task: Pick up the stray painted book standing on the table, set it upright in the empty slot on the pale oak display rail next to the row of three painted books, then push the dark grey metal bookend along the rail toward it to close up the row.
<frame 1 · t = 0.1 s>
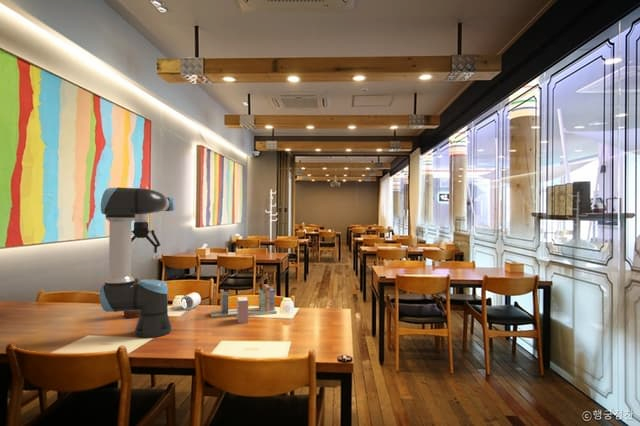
hand: (140, 259, 212), 28 cm above the table, fingers open, 13 cm apart
mug: (187, 308, 215), on the table
rail: (243, 313, 204), on the table
bookend: (224, 302, 201), point 6 cm above the table, slide at 0.0 cm
music box: (135, 316, 198), on the table
book: (242, 320, 189), on the table
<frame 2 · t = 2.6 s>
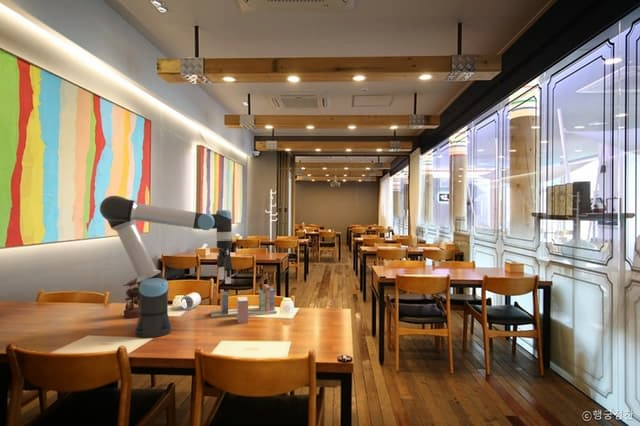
hand: (224, 281, 193), 19 cm above the table, fingers open, 13 cm apart
nothing on the table moved.
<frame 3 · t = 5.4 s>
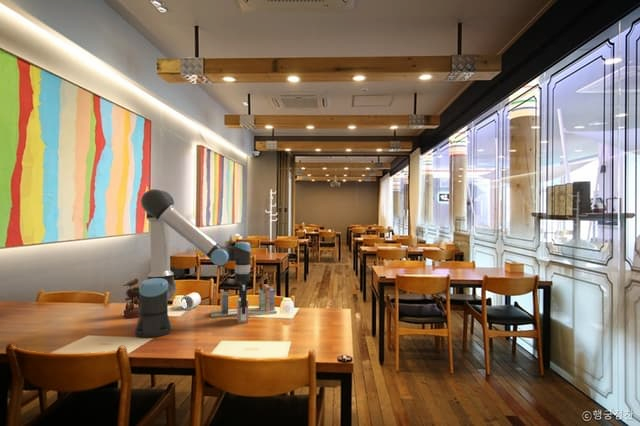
hand: (242, 317, 189), 2 cm above the table, fingers closed on book, 9 cm apart
book: (242, 320, 189), on the table, touching gripper
everything else where it was.
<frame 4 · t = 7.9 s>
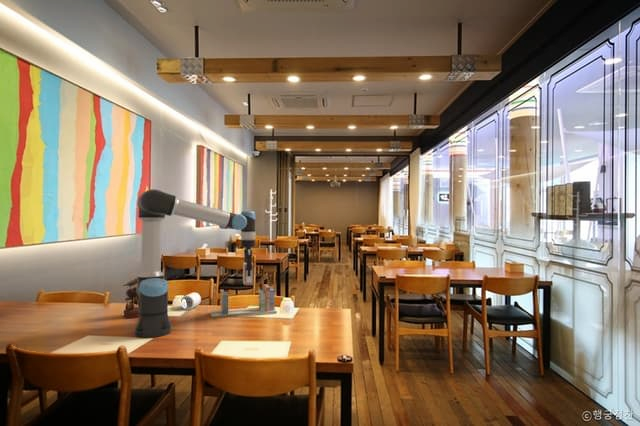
hand: (247, 280, 204), 17 cm above the table, fingers closed on book, 9 cm apart
book: (248, 283, 204), point 16 cm above the table, touching gripper
everything else where it was.
when the fingers open (4 cm above the table, at t = 10.4 s): book drops 1 cm, resting on rail.
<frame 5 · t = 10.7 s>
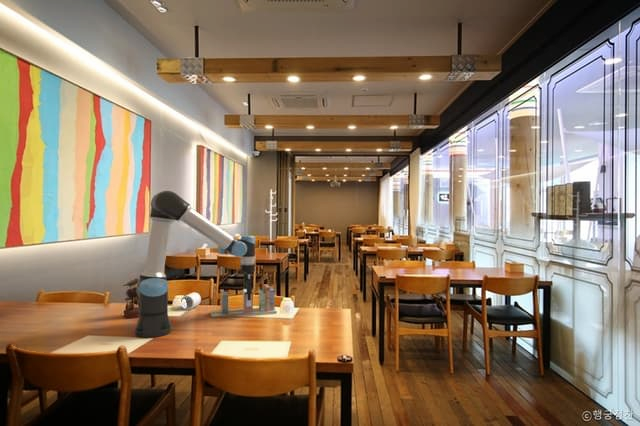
hand: (247, 303, 204), 5 cm above the table, fingers open, 13 cm apart
book: (247, 310, 204), point 1 cm above the table, touching rail
everything else where it was.
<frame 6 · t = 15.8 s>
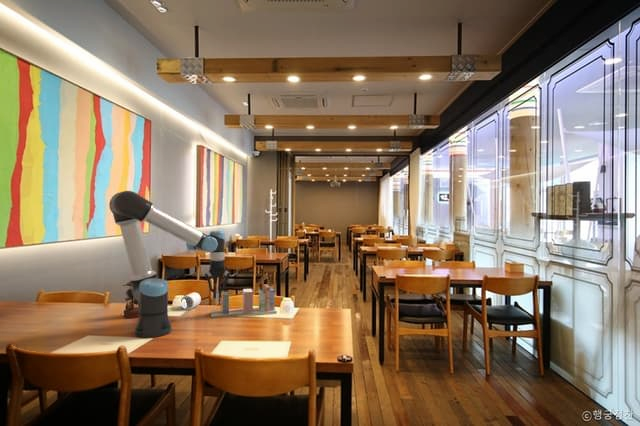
hand: (217, 304, 200), 6 cm above the table, fingers closed
bookend: (225, 302, 201), point 6 cm above the table, slide at 0.3 cm, touching gripper
everything else where it was.
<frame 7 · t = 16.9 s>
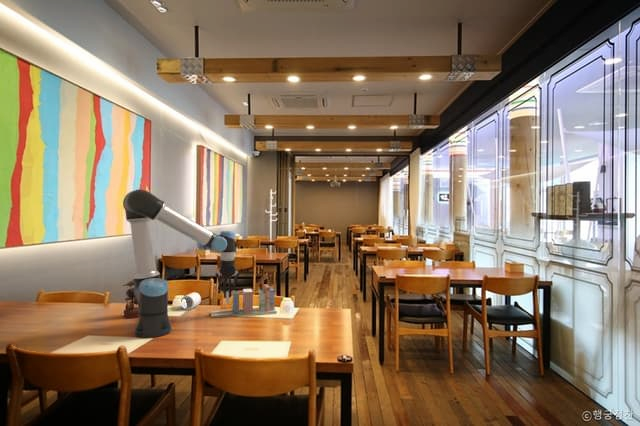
hand: (227, 303, 201), 6 cm above the table, fingers closed
bookend: (235, 302, 202), point 6 cm above the table, slide at 5.6 cm, touching gripper
everything else where it was.
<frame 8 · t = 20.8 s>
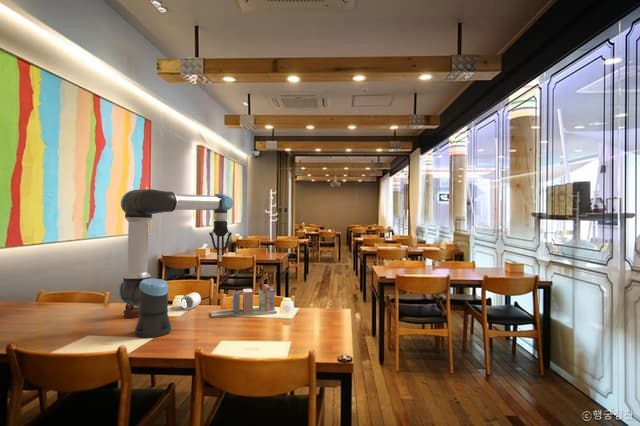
hand: (220, 261, 218), 26 cm above the table, fingers closed
bookend: (236, 301, 202), point 6 cm above the table, slide at 5.9 cm
everything else where it was.
at the end: book inside the target area on the rail (0.0 cm from its centre), point 1.2 cm above the rail's base; book tilted 0°; bookend slide at 5.9 cm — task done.
